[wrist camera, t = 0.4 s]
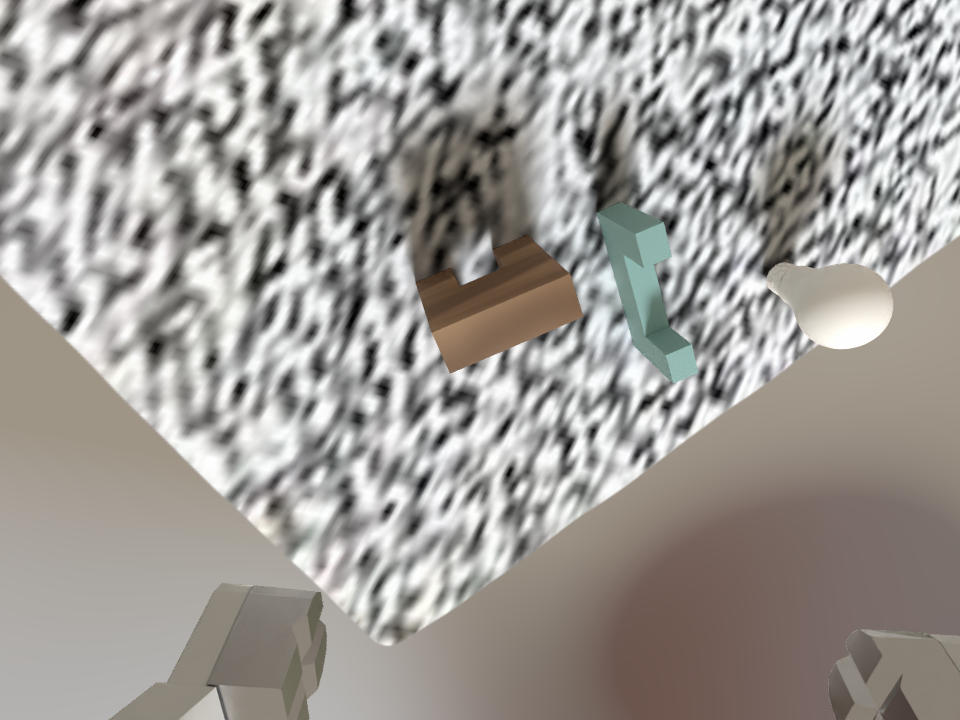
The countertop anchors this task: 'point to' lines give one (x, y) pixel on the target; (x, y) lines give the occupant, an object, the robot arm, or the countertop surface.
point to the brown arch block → (498, 304)
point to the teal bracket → (644, 287)
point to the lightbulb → (835, 302)
